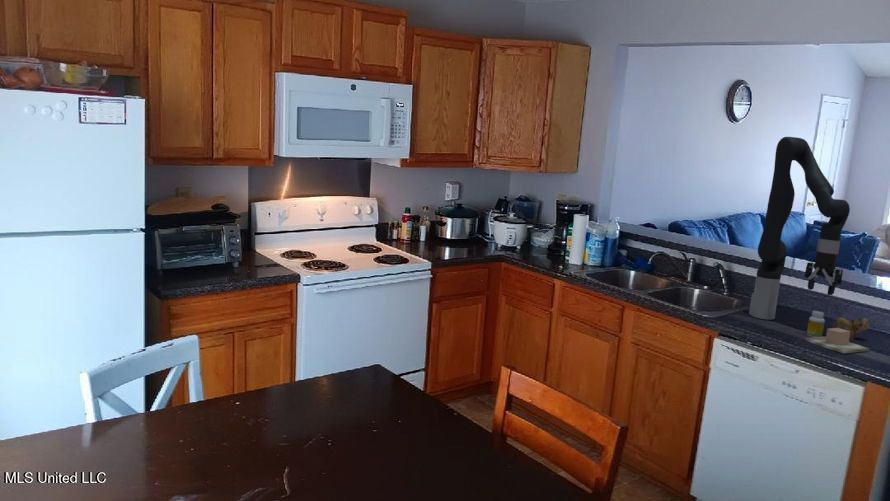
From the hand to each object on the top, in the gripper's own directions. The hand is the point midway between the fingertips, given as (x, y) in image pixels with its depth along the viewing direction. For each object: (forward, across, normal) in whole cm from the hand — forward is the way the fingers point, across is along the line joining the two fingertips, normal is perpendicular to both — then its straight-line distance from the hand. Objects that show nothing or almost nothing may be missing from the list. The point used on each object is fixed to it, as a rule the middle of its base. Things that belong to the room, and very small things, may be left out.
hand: (820, 292), depth 276 cm
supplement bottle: (+18, 0, 0) cm, 18 cm away
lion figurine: (+18, +4, +15) cm, 24 cm away
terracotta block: (+16, +12, -3) cm, 21 cm away
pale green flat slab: (+18, +12, -3) cm, 22 cm away
